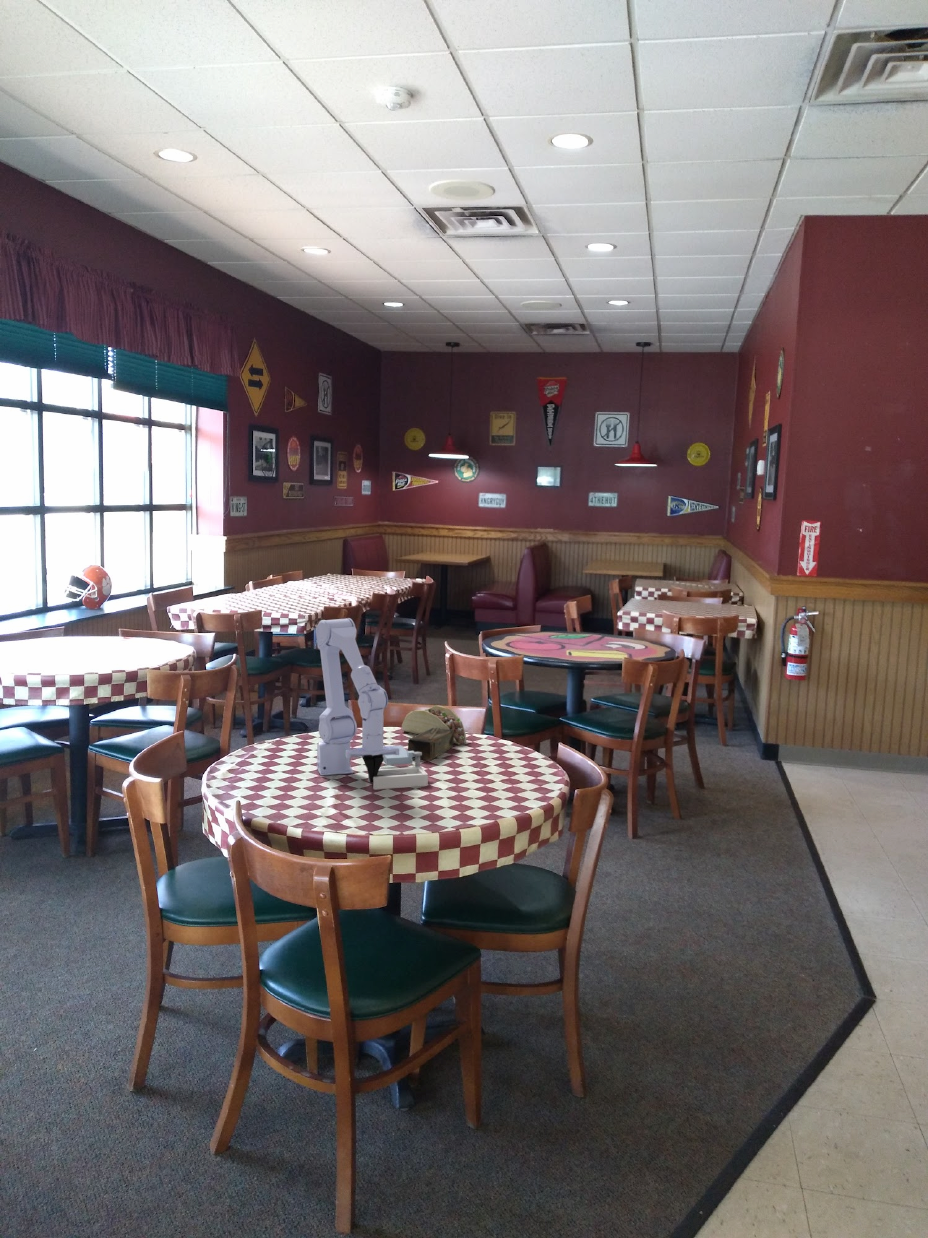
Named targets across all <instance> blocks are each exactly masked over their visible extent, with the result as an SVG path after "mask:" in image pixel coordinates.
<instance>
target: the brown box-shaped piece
mask: <svg viewBox="0 0 928 1238" xmlns="http://www.w3.org/2000/svg"><path fill="white" fill-rule="evenodd" d="M453 741H454V731H453V730H448V729H441V728H440V727H435V728H432V729H430V730H427V731H425V732H423V733H421V734H419V735H418V734H415V736H413V737H410V738H408V740H407V751H414V752H422V755H421V756H420V761H424V762H430V761H432V760H434V759H435V758H437V757H439V756H441V755H442V754H444V753H446V752H447V750H448V751H449V750H450V748H451V749H452V748H453V747H454V744H455V743H454V742H453ZM412 760H415V757H412Z"/></svg>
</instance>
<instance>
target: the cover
mask: <svg viewBox="0 0 928 1238" xmlns="http://www.w3.org/2000/svg"><path fill="white" fill-rule="evenodd" d="M383 746H384V745H383ZM384 747H399V755H383V758H384V760H383V763H384V765H386V766H396V765H397V766H398V765H413V759H412V757H415V756H421V755H422V752H414V751H408V750H407V749H406V748H405V747H404V746H403V745H402V744H401V745H400V744H399V745H386V746H384Z"/></svg>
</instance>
